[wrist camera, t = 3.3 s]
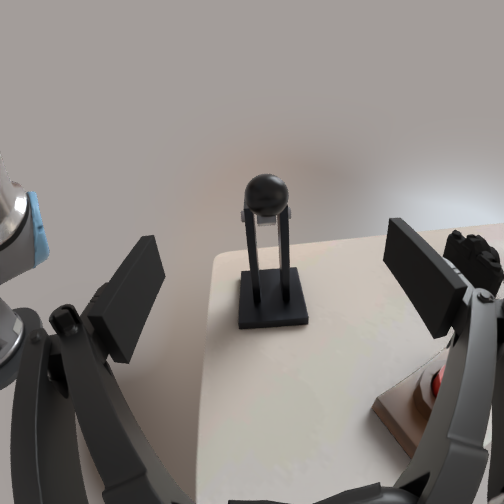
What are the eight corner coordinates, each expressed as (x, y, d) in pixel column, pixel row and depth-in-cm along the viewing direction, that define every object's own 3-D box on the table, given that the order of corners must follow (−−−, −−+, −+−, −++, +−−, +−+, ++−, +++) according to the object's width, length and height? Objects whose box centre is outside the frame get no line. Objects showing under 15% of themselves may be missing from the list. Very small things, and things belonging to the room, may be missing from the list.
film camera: (509, 302, 29) (528, 257, 24) (480, 315, 29) (501, 265, 24) (464, 258, 42) (475, 217, 38) (433, 264, 42) (443, 219, 37)
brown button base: (417, 467, 14) (436, 454, 12) (370, 407, 22) (381, 387, 20) (484, 400, 17) (502, 380, 16) (441, 356, 25) (453, 334, 23)
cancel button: (448, 412, 16) (456, 403, 15) (424, 386, 19) (431, 376, 18) (470, 389, 17) (478, 379, 16) (447, 366, 20) (454, 355, 19)
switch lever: (292, 212, 20) (287, 166, 20) (244, 215, 20) (241, 170, 20) (281, 229, 34) (278, 201, 34) (252, 231, 34) (250, 203, 34)
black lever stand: (308, 324, 34) (312, 217, 27) (239, 329, 34) (222, 223, 27) (296, 273, 44) (295, 185, 37) (242, 277, 45) (231, 190, 38)
